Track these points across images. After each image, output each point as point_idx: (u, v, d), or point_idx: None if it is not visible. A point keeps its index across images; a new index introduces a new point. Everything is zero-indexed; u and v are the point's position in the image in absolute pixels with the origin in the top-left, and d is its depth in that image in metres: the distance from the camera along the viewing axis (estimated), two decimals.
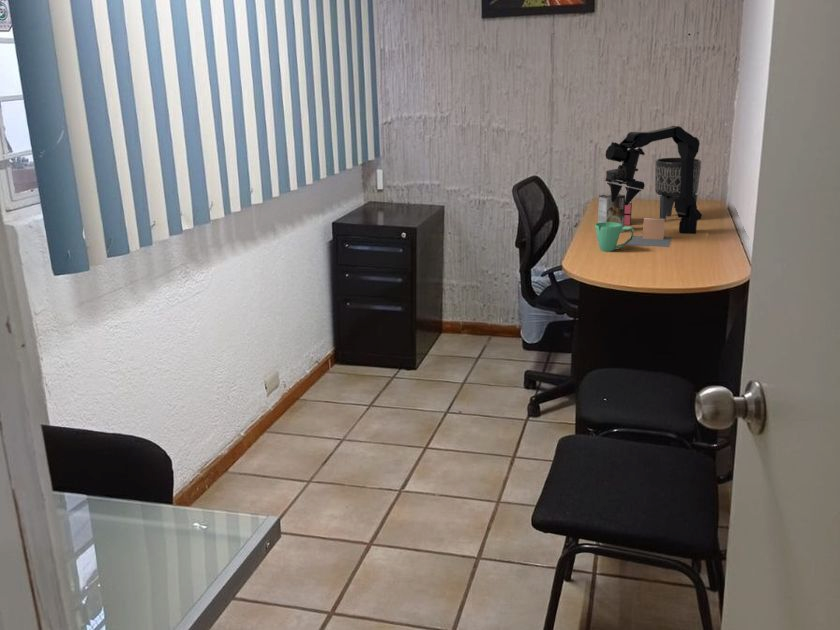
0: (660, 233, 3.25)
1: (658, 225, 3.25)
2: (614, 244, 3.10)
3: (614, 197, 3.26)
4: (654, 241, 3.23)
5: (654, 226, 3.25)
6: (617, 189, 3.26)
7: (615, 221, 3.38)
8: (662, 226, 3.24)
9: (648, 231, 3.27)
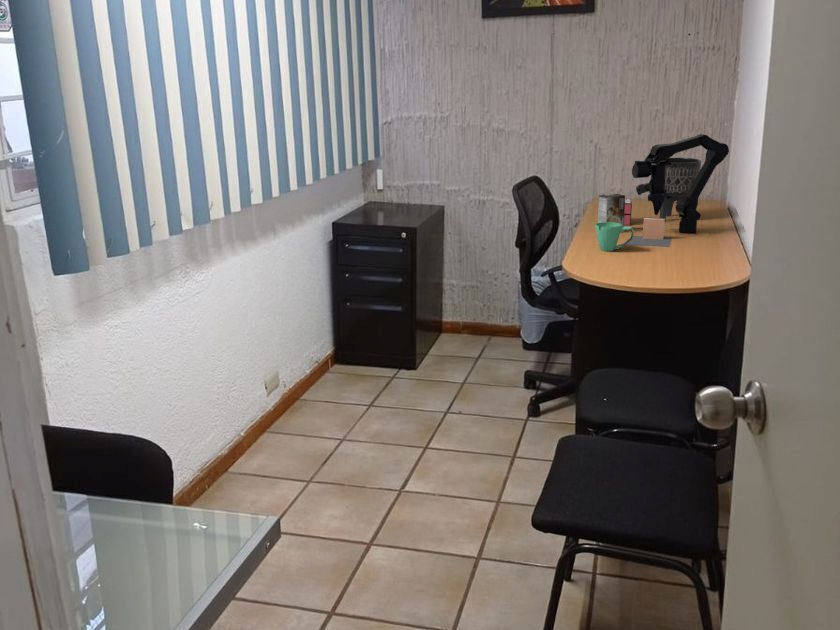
0: (660, 233, 3.25)
1: (658, 225, 3.25)
2: (614, 244, 3.10)
3: None
4: (654, 241, 3.23)
5: (654, 226, 3.25)
6: None
7: (615, 221, 3.38)
8: (662, 226, 3.24)
9: (648, 231, 3.27)
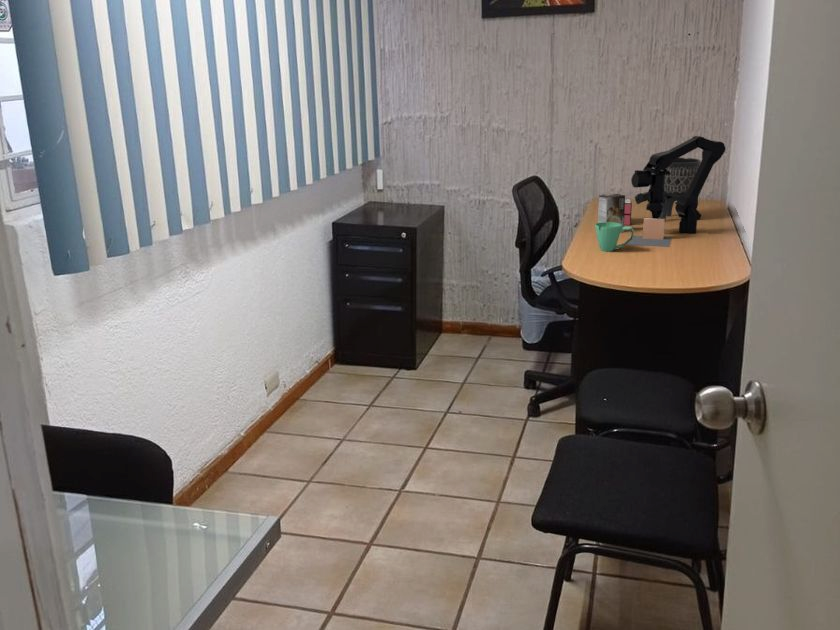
0: (660, 233, 3.25)
1: (658, 225, 3.25)
2: (614, 244, 3.10)
3: None
4: (654, 241, 3.23)
5: (654, 226, 3.25)
6: None
7: (615, 221, 3.38)
8: (662, 226, 3.24)
9: (648, 231, 3.27)
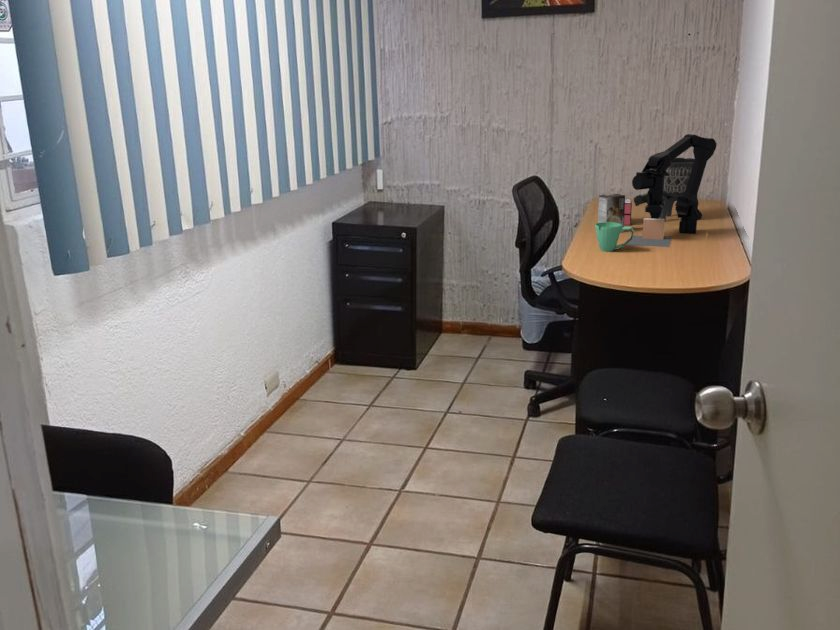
0: (660, 233, 3.25)
1: (658, 225, 3.24)
2: (614, 244, 3.10)
3: None
4: (654, 241, 3.23)
5: (654, 226, 3.25)
6: None
7: (615, 221, 3.38)
8: (662, 226, 3.24)
9: (648, 231, 3.26)
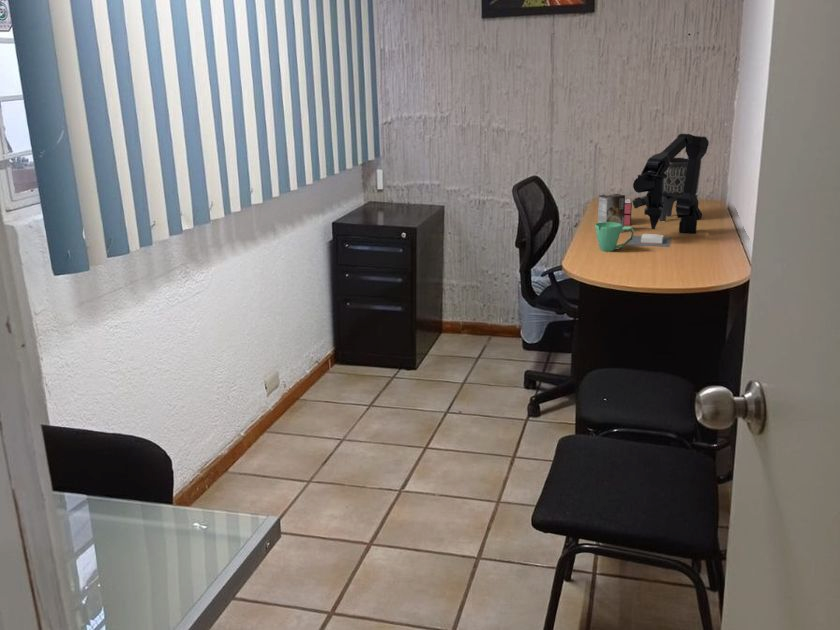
0: None
1: None
2: (614, 244, 3.10)
3: None
4: None
5: None
6: None
7: (615, 221, 3.38)
8: None
9: None
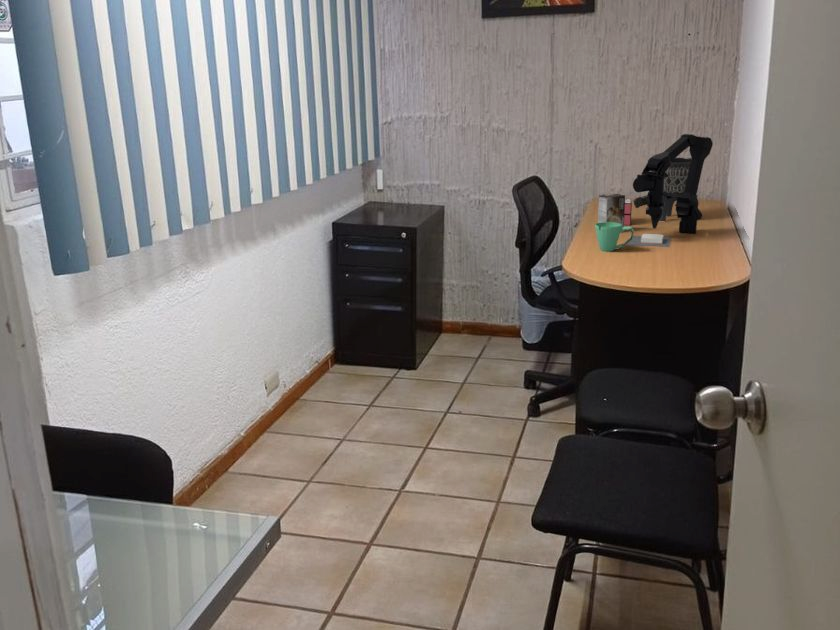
0: None
1: None
2: (614, 244, 3.10)
3: None
4: None
5: None
6: None
7: (615, 221, 3.38)
8: None
9: None
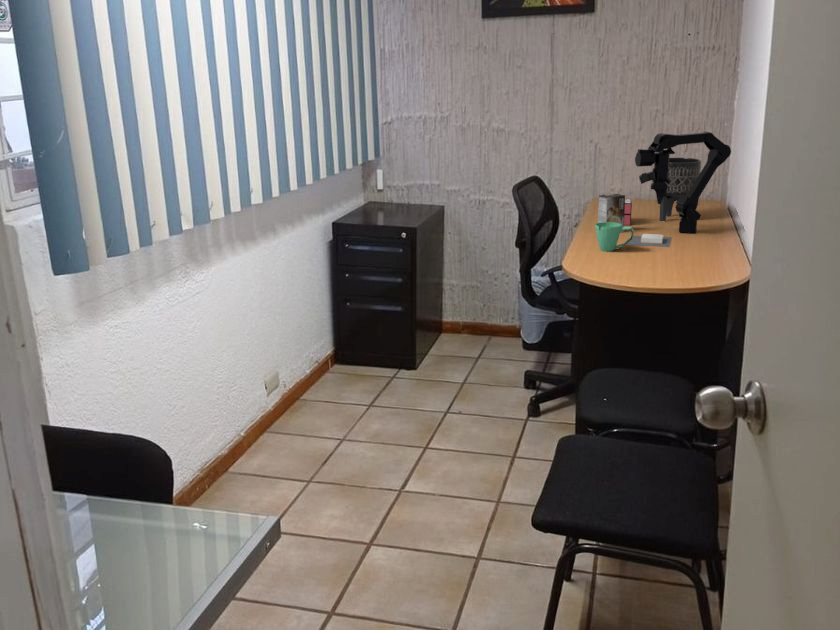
0: None
1: None
2: (614, 244, 3.10)
3: None
4: None
5: None
6: None
7: (615, 221, 3.38)
8: None
9: None
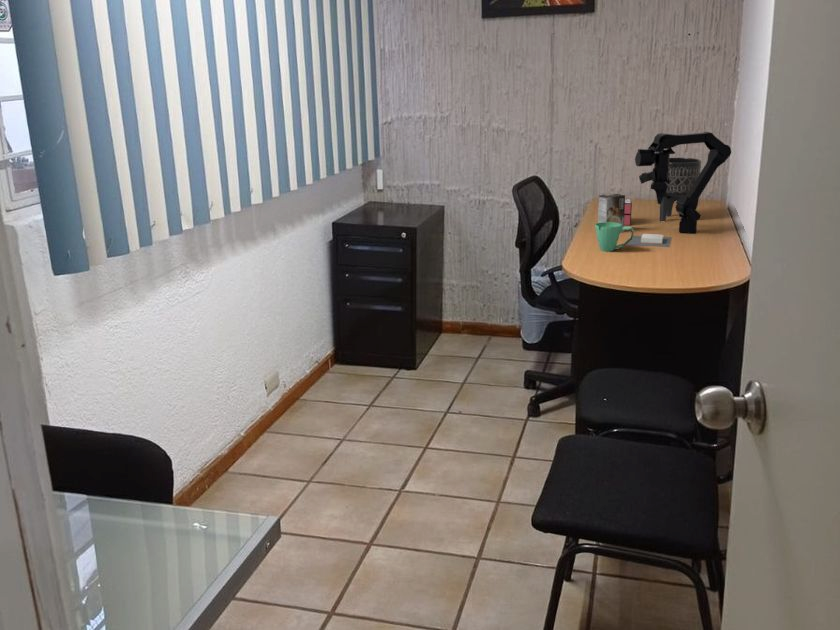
0: None
1: None
2: (614, 244, 3.10)
3: None
4: None
5: None
6: None
7: (615, 221, 3.38)
8: None
9: None
